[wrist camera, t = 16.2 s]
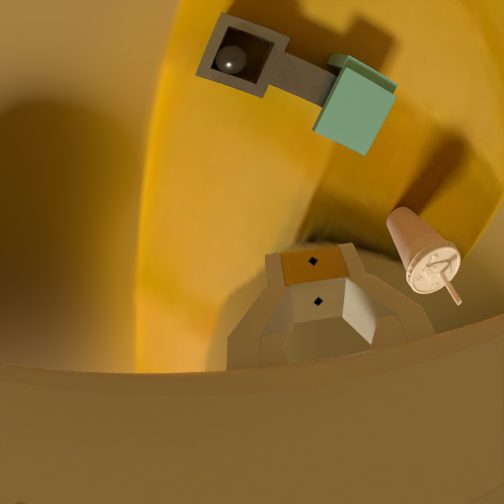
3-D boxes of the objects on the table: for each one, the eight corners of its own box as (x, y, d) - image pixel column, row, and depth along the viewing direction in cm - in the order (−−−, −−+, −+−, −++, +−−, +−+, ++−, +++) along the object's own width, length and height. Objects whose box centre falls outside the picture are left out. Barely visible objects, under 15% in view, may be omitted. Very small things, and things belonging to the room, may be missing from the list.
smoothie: (406, 245, 37) (455, 326, 26) (368, 235, 36) (414, 323, 25) (429, 204, 33) (492, 280, 22) (391, 190, 32) (455, 271, 21)
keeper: (300, 116, 27) (314, 131, 23) (331, 53, 23) (351, 55, 19) (345, 137, 28) (365, 156, 24) (376, 77, 24) (402, 86, 20)
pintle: (242, 44, 23) (244, 43, 18) (246, 66, 24) (249, 71, 19) (217, 48, 23) (213, 48, 18) (221, 70, 24) (218, 76, 19)
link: (200, 71, 24) (195, 75, 21) (223, 17, 21) (221, 12, 18) (343, 128, 28) (357, 141, 25) (368, 81, 25) (385, 88, 22)
